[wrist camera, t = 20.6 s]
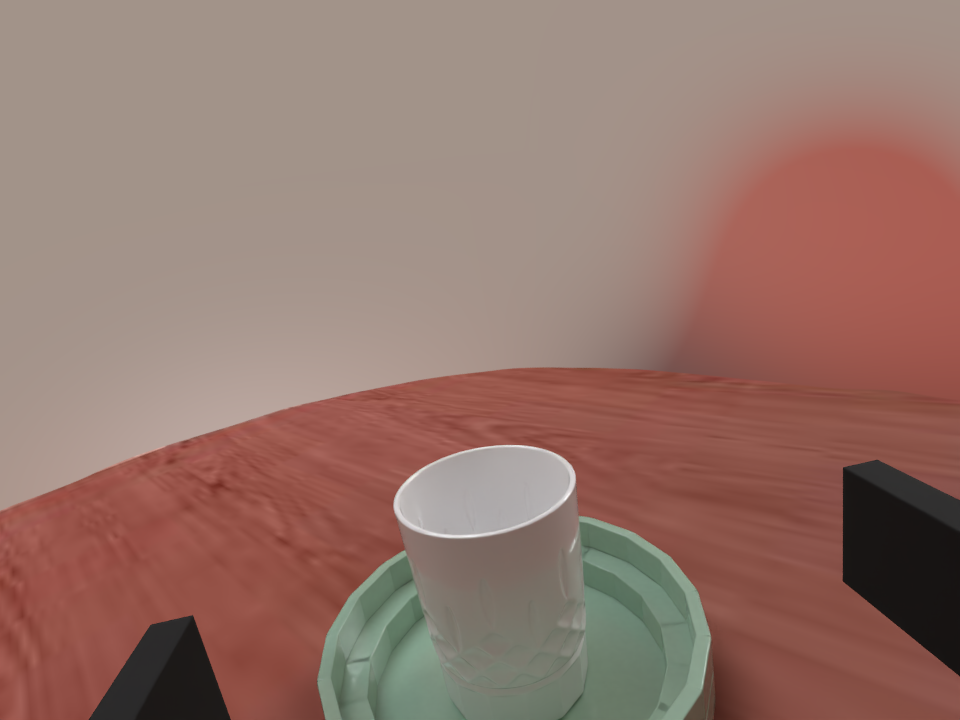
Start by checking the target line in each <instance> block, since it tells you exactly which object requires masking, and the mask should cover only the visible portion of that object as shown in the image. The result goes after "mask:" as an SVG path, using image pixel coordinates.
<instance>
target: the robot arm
mask: <svg viewBox="0 0 960 720" xmlns="http://www.w3.org/2000/svg"><path fill="white" fill-rule="evenodd" d="M843 582H844V583H846V584H847V585H848V586H849V587H851V588H852V589H853V590H854V591H856V592H857V593H858V594H859V595H860V596H862V597H863V598H864V599H865V600H867V601H868V602H869V603H870V604H872V605H873V606H874V607H875V608H876V609H878V610H879V611H880V612H881V613H883V614H884V615H885V616H886V617H888V618H889V619H890V620H891V621H892V622H894V623H895V624H896V625H897V626H899V627H900V628H901V629H902V630H904V631H905V632H906V633H907V634H908V635H910V636H911V637H912V638H913V639H915V640H916V641H917V642H918V643H920V644H921V645H922V646H923V647H924V648H926V649H927V650H928V651H929V652H931V653H932V654H933V655H934V656H936V657H937V658H938V659H939V660H940V661H942V662H943V663H944V664H945V665H947V666H948V667H949V668H950V669H952V670H953V671H954V672H955V673H956V674H958V675H959V676H960V500H958V499H956V498H954V497H952V496H950V495H948V494H946V493H944V492H942V491H940V490H938V489H935V488H933V487H931V486H929V485H927V484H925V483H923V482H921V481H919V480H917V479H915V478H913V477H911V476H909V475H907V474H905V473H903V472H901V471H899V470H897V469H895V468H893V467H891V466H889V465H887V464H885V463H883V462H881V461H879V460H874V461H870V462H865V463H861V464H857V465H852V466H848V467H843ZM89 720H231V719H230V716H229V714H228V711H227V708H226V705H225V703H224V700H223V697H222V694H221V691H220V689H219V686H218V683H217V680H216V678H215V675H214V672H213V669H212V667H211V664H210V661H209V658H208V656H207V653H206V650H205V647H204V645H203V642H202V639H201V636H200V634H199V631H198V628H197V625H196V623H195V620H194V617H193V615H192V616H188V617H183V618H179V619H174V620H170V621H165V622H161V623H157V624H152V625H150V627H149V628H148V630H147V631H146V633H145V634H144V636H143V637H142V639H141V640H140V642H139V644H138V645H137V647H136V648H135V650H134V651H133V653H132V654H131V656H130V657H129V659H128V660H127V662H126V663H125V665H124V667H123V668H122V670H121V671H120V673H119V674H118V676H117V677H116V679H115V680H114V682H113V683H112V685H111V686H110V688H109V690H108V691H107V693H106V694H105V696H104V697H103V699H102V700H101V702H100V703H99V705H98V706H97V708H96V709H95V711H94V713H93V714H92V716H91V717H90V719H89Z"/></svg>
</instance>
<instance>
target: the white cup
mask: <svg viewBox="0 0 960 720" xmlns="http://www.w3.org/2000/svg"><path fill="white" fill-rule="evenodd" d="M394 512H395V516H396V519H397V523H398V526H399V530H400V533H401V537H402V540H403V544H404V547H405V551H406V554H407V558H408V562H409V565H410V569H411V572H412V576H413V580H414V583H415V587H416V591H417V594H418V598H419V601H420V605H421V608H422V611H423V614H424V616H425V619H426V623H427V627H428V631H429V634H430V638H431V641H432V643H433V646H434V648H435V650H436V653H437V655H438V657H439V661H440V664H441V668H442V672H443V675H444V679H445V683H446V687H447V690H448V694H449V697H450V699H451V700H452V701H453V703H454V704H455V705H456V707H457V708H458V709H459V711H460V712H461V713H462V715H463V716H464V717H465V719H466V720H558V719H560V718H562V717H564V716H565V714H566V713H567V712H568V711H569V709H570V708H571V707H572V706H573V704H574V703H575V702H576V701H577V699H578V698H579V697H580V696H581V694H582V693H583V691H584V686H585V680H586V674H587V668H588V655H587V644H586V634H585V628H586V607H585V597H584V572H583V560H582V548H581V536H580V524H579V512H578V499H577V486H576V475H575V472H574V469H573V468H572V466H571V465H570V463H569V462H568V461H566V460H565V459H564V458H563V457H561V456H559V455H557V454H555V453H553V452H551V451H548V450H545V449H541V448H536V447H531V446H521V445H498V446H488V447H481V448H476V449H471V450H466V451H463V452H459V453H456V454H453V455H450V456H447V457H444V458H442V459H439V460H437V461H435V462H433V463H431V464H429V465H427V466H425V467H423V468H422V469H420V470H419V471H417V472H416V473H414V474H413V475H412V476H411V477H410V478H408V479H407V480H406V481H405V482H404V483H403V485H402V486H401V487H400V488H399V490H398V492H397V494H396V496H395V499H394Z"/></svg>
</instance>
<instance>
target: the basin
mask: <svg viewBox="0 0 960 720" xmlns="http://www.w3.org/2000/svg"><path fill="white" fill-rule="evenodd" d="M579 524H580V536H581V548H582V560H583V572H584V597H585V607H586V628H585V634H586V644H587V655H588V668H587V674H586V680H585V686H584V691H583V693H582V694H581V696H580V697H579V698H578V699H577V701H576V702H575V703H574V704H573V706H572V707H571V708H570V709H569V711H568V712H567V713H566V714H565V716H564V717H562V718H560V719H558V720H713V716H714V709H715V685H714V670H713V655H712V640H711V634H710V630H709V627H708V624H707V620H706V617H705V613H704V610H703V607H702V603H701V600H700V596H699V593H698V591H697V589H696V588H695V587H694V586H693V584H692V583H691V582H690V581H689V579H688V578H687V577H686V576H685V574H684V573H683V572H682V571H681V569H680V568H679V567H678V566H677V564H676V563H675V562H674V561H673V560H672V558H671V557H670V556H669V555H667V554H666V553H664V552H663V551H661V550H660V549H658V548H657V547H655V546H653V545H652V544H650V543H649V542H647V541H646V540H644V539H643V538H641V537H640V536H638V535H637V534H635V533H634V532H632V531H629V530H626V529H623V528H620V527H617V526H614V525H611V524H609V523H606V522H603V521H600V520H597V519H594V518H591V517H583V516H579ZM317 686H318V690H319V695H320V699H321V703H322V708H323V712H324V717H325V720H466V719H465V717H464V716H463V715H462V713H461V712H460V711H459V709H458V708H457V707H456V705H455V704H454V703H453V701H452V700H451V699H450V697H449V694H448V690H447V687H446V683H445V679H444V675H443V672H442V668H441V664H440V661H439V657H438V655H437V653H436V650H435V648H434V646H433V643H432V641H431V638H430V634H429V631H428V627H427V623H426V619H425V616H424V614H423V611H422V608H421V605H420V601H419V598H418V594H417V591H416V587H415V583H414V580H413V576H412V572H411V569H410V565H409V562H408V558H407V554H406V551H405V550H404V551H402V552H400V553H399V554H397V555H396V556H394V557H393V558H391V559H389V560H388V561H386V562H385V563H383V565H381V566H380V567H379V568H378V569H377V570H376V571H375V572H374V573H373V574H372V575H371V576H370V577H369V578H367V579H366V580H365V581H364V582H363V583H362V584H361V585H360V586H359V587H358V588H357V589H356V590H355V591H354V592H353V593H352V594H351V595H350V596H349V598H348V599H347V601H346V603H345V605H344V606H343V608H342V610H341V611H340V613H339V615H338V616H337V618H336V620H335V621H334V623H333V625H332V627H331V628H330V630H329V632H328V633H327V636H326V640H325V645H324V650H323V655H322V660H321V665H320V670H319V675H318V679H317Z"/></svg>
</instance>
